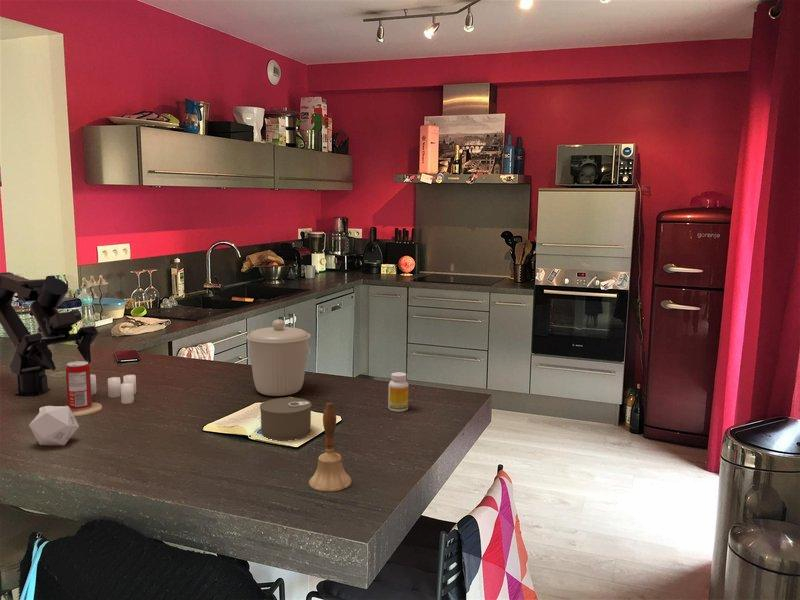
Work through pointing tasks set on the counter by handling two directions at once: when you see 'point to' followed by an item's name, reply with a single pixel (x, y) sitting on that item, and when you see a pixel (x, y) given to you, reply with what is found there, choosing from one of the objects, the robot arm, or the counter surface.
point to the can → (285, 418)
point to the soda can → (78, 385)
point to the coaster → (88, 410)
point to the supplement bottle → (398, 392)
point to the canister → (278, 358)
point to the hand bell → (330, 459)
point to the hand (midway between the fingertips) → (72, 366)
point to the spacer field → (117, 388)
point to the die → (54, 425)
